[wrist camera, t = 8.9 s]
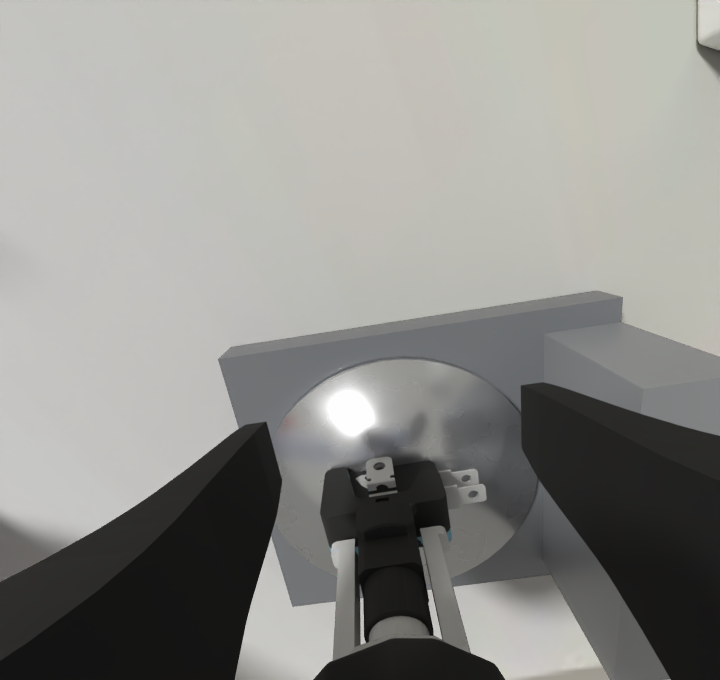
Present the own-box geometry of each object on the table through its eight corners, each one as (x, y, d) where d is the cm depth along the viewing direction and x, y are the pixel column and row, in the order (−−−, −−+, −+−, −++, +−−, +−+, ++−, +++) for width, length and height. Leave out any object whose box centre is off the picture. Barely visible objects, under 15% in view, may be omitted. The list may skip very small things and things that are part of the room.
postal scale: (297, 579, 20) (270, 740, 13) (230, 347, 15) (146, 426, 9) (593, 541, 19) (708, 692, 13) (608, 288, 15) (790, 331, 9)
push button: (468, 415, 14) (690, 786, 5) (478, 517, 16) (661, 946, 6) (310, 442, 15) (224, 841, 5) (335, 539, 16) (307, 980, 7)
